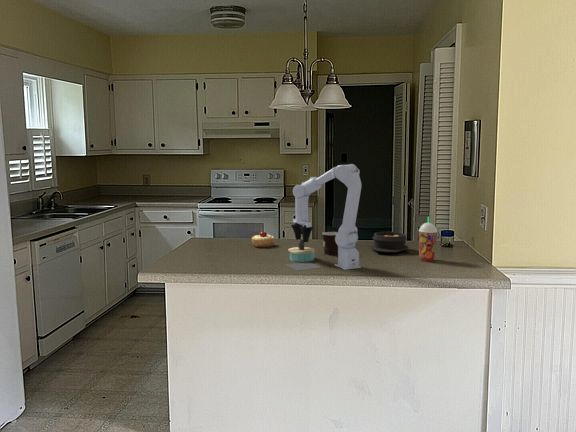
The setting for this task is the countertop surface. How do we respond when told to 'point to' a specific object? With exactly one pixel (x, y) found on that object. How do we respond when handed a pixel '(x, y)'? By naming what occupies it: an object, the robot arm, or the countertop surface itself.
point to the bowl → (302, 257)
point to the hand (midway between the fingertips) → (301, 240)
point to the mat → (303, 266)
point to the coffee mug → (330, 243)
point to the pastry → (263, 240)
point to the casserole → (389, 242)
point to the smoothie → (427, 241)
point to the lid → (301, 249)
